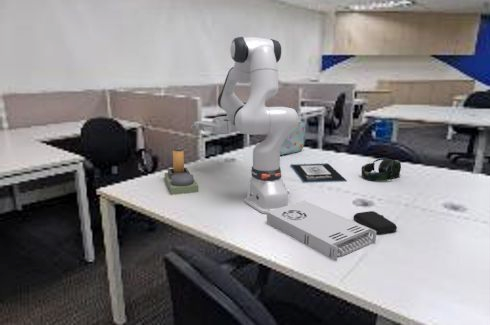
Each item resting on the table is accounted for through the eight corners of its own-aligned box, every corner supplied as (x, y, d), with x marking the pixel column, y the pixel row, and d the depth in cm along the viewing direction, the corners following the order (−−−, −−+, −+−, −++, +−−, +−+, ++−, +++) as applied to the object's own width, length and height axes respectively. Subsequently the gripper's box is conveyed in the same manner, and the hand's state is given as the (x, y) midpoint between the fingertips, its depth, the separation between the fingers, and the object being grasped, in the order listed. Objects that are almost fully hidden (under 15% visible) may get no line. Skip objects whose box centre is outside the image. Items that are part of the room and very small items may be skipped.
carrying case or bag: (401, 232, 131) (375, 216, 145) (402, 224, 130) (376, 208, 144) (375, 236, 128) (351, 219, 141) (376, 228, 127) (351, 212, 141)
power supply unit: (336, 262, 112) (337, 247, 111) (266, 224, 138) (266, 211, 137) (375, 245, 123) (376, 231, 122) (303, 212, 149) (304, 200, 147)
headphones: (381, 159, 201) (352, 170, 193) (395, 146, 190) (366, 157, 182) (395, 181, 196) (367, 193, 188) (411, 169, 185) (381, 181, 177)
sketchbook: (303, 184, 181) (303, 180, 181) (289, 166, 210) (289, 163, 210) (346, 182, 184) (347, 178, 183) (327, 165, 212) (327, 162, 212)
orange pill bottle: (185, 176, 180) (184, 148, 176) (174, 177, 178) (173, 149, 175) (183, 173, 185) (182, 145, 181) (172, 174, 183) (171, 146, 180)
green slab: (198, 191, 169) (198, 179, 167) (171, 194, 165) (170, 181, 164) (188, 176, 191) (188, 164, 189) (164, 178, 187) (164, 166, 186)
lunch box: (294, 148, 251) (295, 116, 245) (306, 151, 243) (308, 117, 237) (264, 154, 234) (265, 120, 228) (276, 157, 227) (277, 122, 221)
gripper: (206, 117, 200) (185, 119, 190) (232, 121, 185) (210, 124, 176) (207, 129, 201) (185, 132, 192) (232, 134, 187) (210, 137, 178)
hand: (197, 128), depth 184 cm, fingers open, 8 cm apart
